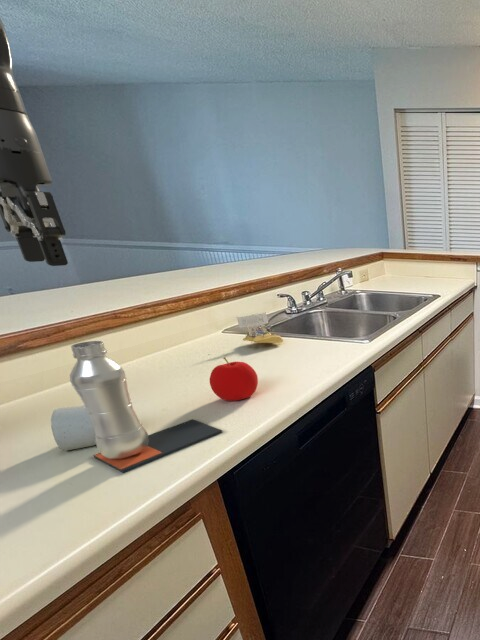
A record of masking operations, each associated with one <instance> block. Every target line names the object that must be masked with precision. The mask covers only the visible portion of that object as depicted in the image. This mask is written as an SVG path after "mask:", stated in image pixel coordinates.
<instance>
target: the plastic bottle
mask: <svg viewBox="0 0 480 640" xmlns="http://www.w3.org/2000/svg"><path fill="white" fill-rule="evenodd" d="M70 348H71V352H72V357H73V359H76V362H75V364H74V366H73V367H72V369H71V371H70V373H69V383H70V384H71V386H72V388H73V389H74V391H75V392H76V394H77V395H78V397H79V398H80V400H81V401H82V404H83V406H85V407H86V409H87V410H88V413H89V415H90V417H91V421H92V425H93V428H94V432H95V441H96V445H95V446H96V449H97V450H98V452H99V453H101V454H102V455H103V456H105V457H107V458H109V459H120V458H125V457H129V456H132V455H135V454H137V453H140V452H141V451H143V450H144V449H146V447H147V445H148V443H149V439H148V435H149V434H148V431H147V430H146V428H145V426H144V425H143V424H142V423H141V421H140V419H139V417H138V415H137V412H136V410H135V409H134V406H133V403H132V401H131V400H132V399H131V396H130V391H129V387H128V380H127V375H126V370H125V369H124V368H123V366H122V365H120V364H119V363H118V362H116V361H115V360H113V359H112V358H111V357H108V356H107V355H106V354H108V350H107V349H106V347H105V343H104V341H102V340H89V341H83V342H78V343H74V344H72V345H70Z"/></svg>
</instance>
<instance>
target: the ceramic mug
mask: <svg viewBox="0 0 480 640" xmlns="http://www.w3.org/2000/svg"><path fill="white" fill-rule="evenodd" d="M50 426H51V432H52V436H53V438H54V439H53V440H54V442H55V443H56V445H57V446H58V448H59V449H60V450H61V451H64V452H65V451H66V452H67V451H71V450H72V451H73V450H77V449H78V450H79V449H83V448H89V447H93V446H96V441H95V432H94V428H93V425H92V421H91V417H90V415H89V413H88V410H87V409H86V407H85V405H79V406H67V407H57V408H55V409H54V410H52V414H51V418H50Z"/></svg>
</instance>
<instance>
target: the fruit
mask: <svg viewBox="0 0 480 640" xmlns="http://www.w3.org/2000/svg"><path fill="white" fill-rule="evenodd" d="M222 359H223V360H224V361H225V362H226V363H223V364H219V365H216V366H215V367H214V368H213V369H211V370H212V371H210V372H211V373H210V376H209V386H210V388H211V391H212V392H213V393H214V394H215V395H216V396H217V398H218V399H221V400H223V401H227V402H229V401H230V402H235V401H241V400H244V399H249V398H250V397H252V396H253V394H254V393H255V392H256V390H257V388H258V383H259V378H258V374H257V372H256V371H255V369H254V367H252V365H250V364H249V363H246V362H244V361H231V362H229V361H228V360H227V358H226V356H224V357H223V358H222Z"/></svg>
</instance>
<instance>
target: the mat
mask: <svg viewBox="0 0 480 640" xmlns="http://www.w3.org/2000/svg"><path fill="white" fill-rule="evenodd" d="M220 434H223V430H222V429H219V428H218V427H214V426H212V425H209V424H206V423H203V422H201V421H198V420H196V419H193V418H192V419H189V420H186V421H184V422H181V423H178V424H175V425H173V426H170V427H168V428H165V429H164V428H163V429H162V430H160V431H156V432H154V433H151V434H148V439H149V443H148V445H147V447H146V449H144V450H143V451H141V452H140V453H137V454H135V455H132V456H129V457H125V458H120V459H109V458H107V457H105V456H103V455H102V454H101V453H100V452H99V453H96V454H93V458H94V459H95V460H97V461H99V462H101V463H103V464H104V465H107V466H109V467H111V468H113V469H115V470H117V471H118V472H120V473H122V474H125V473H127V472H130V471H133V470H135V469H137V468H140V467H143V466H144V465H145V466H146V465H147V464H149V463H152V462H155V461H157V460H159V459H162V458H165V457H167V456H169V455H171V454H174V453H176V452H179V451H182V450H183V449H184V450H185V449H187V448H188V447H191V446H194V445H196V444H198V443H201V442H203V441H206V440H208V439H210V438H213V437H215V436H218V435H220Z"/></svg>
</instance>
